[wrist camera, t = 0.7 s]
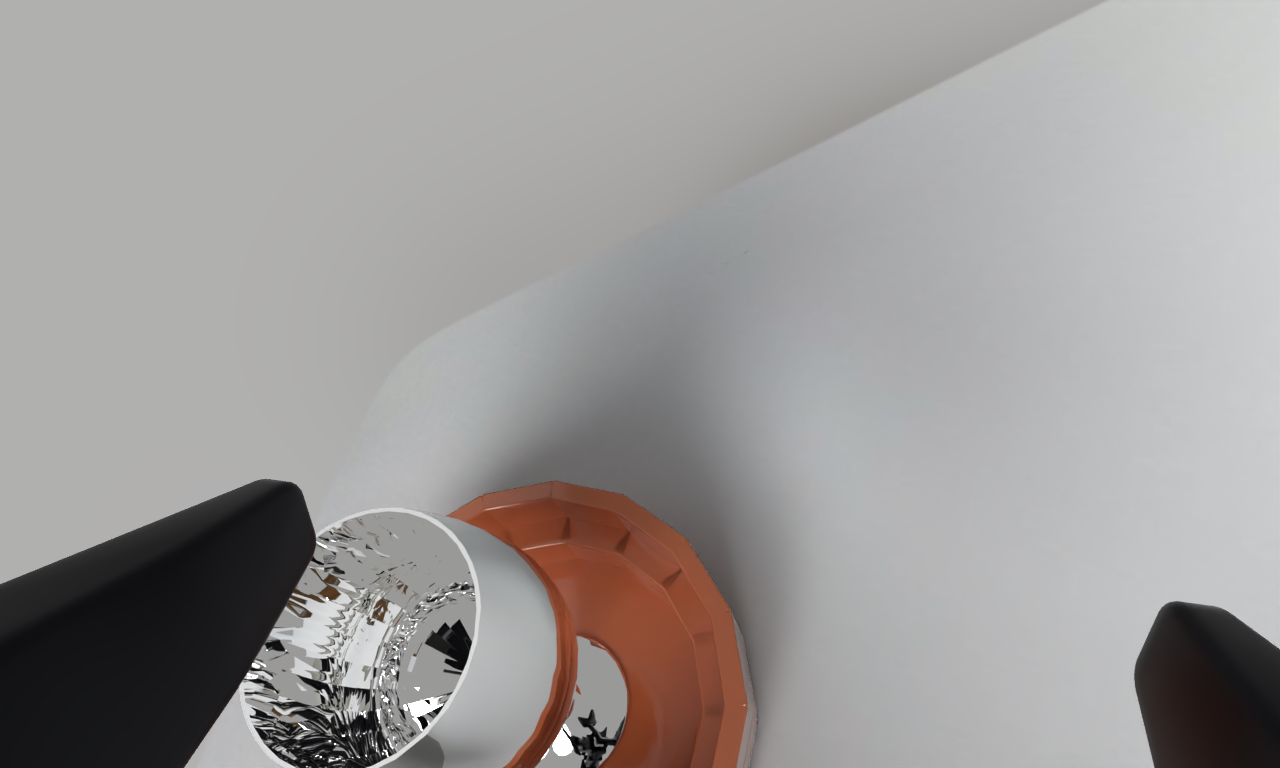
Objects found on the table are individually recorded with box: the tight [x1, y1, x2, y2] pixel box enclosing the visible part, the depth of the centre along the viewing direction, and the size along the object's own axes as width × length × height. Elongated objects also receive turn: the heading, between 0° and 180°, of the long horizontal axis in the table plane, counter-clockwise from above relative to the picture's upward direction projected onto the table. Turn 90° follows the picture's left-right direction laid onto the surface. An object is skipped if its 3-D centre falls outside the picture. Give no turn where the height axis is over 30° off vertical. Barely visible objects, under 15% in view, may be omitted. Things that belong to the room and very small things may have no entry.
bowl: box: [447, 481, 758, 768], centre depth 21 cm, size 12×12×4 cm
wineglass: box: [239, 508, 630, 768], centre depth 18 cm, size 6×6×12 cm
